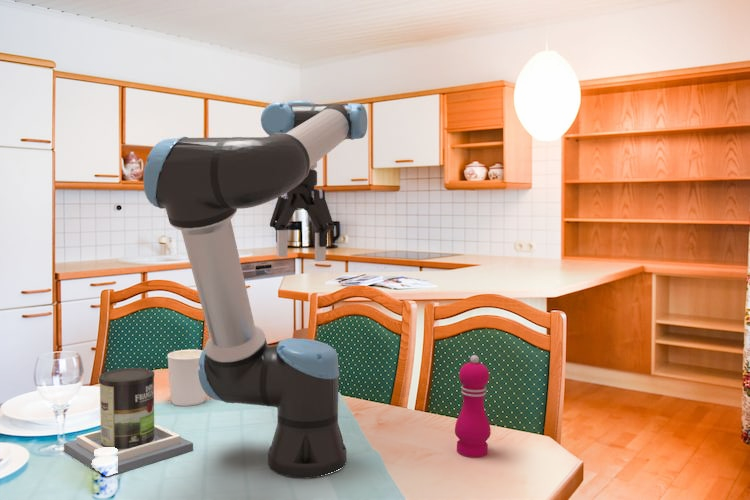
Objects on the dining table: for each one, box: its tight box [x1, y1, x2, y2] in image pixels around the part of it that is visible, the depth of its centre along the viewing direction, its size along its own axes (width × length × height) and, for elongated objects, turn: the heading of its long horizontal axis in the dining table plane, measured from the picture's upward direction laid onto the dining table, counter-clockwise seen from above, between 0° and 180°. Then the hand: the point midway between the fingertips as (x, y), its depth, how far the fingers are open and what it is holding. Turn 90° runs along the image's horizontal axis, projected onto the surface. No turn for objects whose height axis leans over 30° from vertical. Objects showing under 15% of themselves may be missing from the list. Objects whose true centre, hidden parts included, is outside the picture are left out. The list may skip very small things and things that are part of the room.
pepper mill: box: [454, 354, 492, 458], centre depth 132 cm, size 7×7×20 cm
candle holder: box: [166, 349, 207, 407], centre depth 163 cm, size 10×10×12 cm
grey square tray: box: [63, 423, 194, 475], centre depth 131 cm, size 18×18×3 cm
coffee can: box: [98, 367, 155, 452], centre depth 130 cm, size 10×10×14 cm
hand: (300, 258), depth 155 cm, fingers open, 13 cm apart
